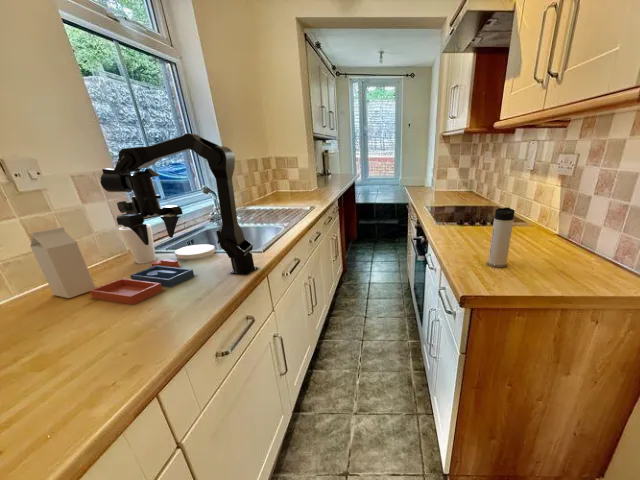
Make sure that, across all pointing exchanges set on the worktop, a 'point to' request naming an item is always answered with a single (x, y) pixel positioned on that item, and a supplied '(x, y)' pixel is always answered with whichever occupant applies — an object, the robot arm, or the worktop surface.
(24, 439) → the worktop surface
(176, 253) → the plastic lid
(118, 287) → the terracotta tray
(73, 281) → the milk carton
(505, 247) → the travel mug
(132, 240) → the foam cup
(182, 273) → the blue tray
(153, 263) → the terracotta spoon
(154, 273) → the blue spoon
